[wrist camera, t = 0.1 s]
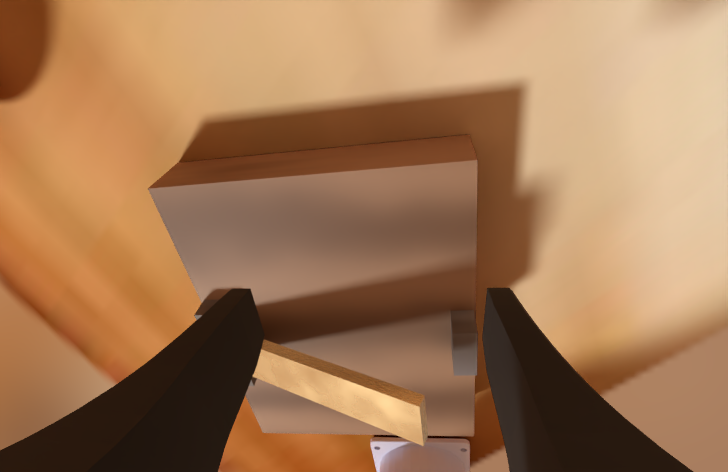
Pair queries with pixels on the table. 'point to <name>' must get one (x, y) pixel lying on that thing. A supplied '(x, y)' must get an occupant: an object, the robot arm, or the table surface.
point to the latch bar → (345, 391)
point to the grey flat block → (343, 266)
